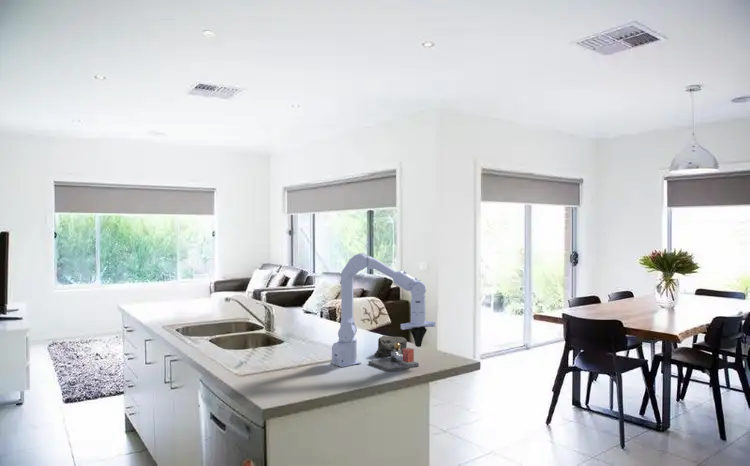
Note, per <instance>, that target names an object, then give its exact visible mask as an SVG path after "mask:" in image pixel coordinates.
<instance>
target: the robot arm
mask: <svg viewBox="0 0 750 466" xmlns="http://www.w3.org/2000/svg"><path fill="white" fill-rule="evenodd" d="M364 269H367V270H376V271H377V272H380V273H382V274H383V275H385V276H387V277H389V278H391V279H392V281H393V284H395V285H396V286H398V287H400V288H401V289H402V290H405V291H406V292H410V294H411V300H410V321H409V322H406V323H400V330H401V331H402V330H409V331H410V333H411V335H412V337H413V341H414V346H415V347H417V348H420V347H422V343H423V341H424V337H425V335H426V333H427V329H428V328H429V327H430V328H435V327H436V321H433V320H432V321H431V320H430V321H428V320H426V295H425V294H426V291H427V289H426V286H425V283H424V282H423V281H421V280H419V279H418V278H417V277H413V276H411V275H409V274H408V272H407V271H406V270H404V271H402V270H399V271H396V270H395V269H393V268H391V267H390V266H388V265H386V264H385V263H383V262H382V261H381V260H379V259H377V258H374V257H373V256H371V255H367V254H366V253H364V252H363V253H362V252H360V253H357V254H355V255H353V256H351V258H349V259H348V261H347V263H346V265H345V266H344V267H343V269H342V270H341V273H340V278H341V279H340V284H341V285H340V290H341V293H340V294H341V296H340V299H341V304H340V305H341V308H340V310H341V315H340V316H341V318H340V325H339V330H337V331H338V333H337V336H338V341H337V342H334V343H333V344H332V346H331V362H330V364H333V365H334V366H335V365H336V366H338V367H341V368H343V367H349V366H354V365H359V364H361V363H362V362H361V361H359V360H357V359H358V358H357V357H358V356H357V351H358V350H357V338H356V334H357V331H358V330H357V329H358V328H357V326H356V324H355V317H354V277H355V276H356V275H357V274H358V273H359V272H361V271H363V270H364Z"/></svg>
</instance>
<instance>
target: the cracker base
mask: <svg viewBox="0 0 750 466" xmlns="http://www.w3.org/2000/svg"><path fill="white" fill-rule="evenodd" d="M400 348H401V345H400V344H399V343H396V344H395V345H394V350H393V351H398V353H400V354H403V353H402V350H399V349H400ZM368 365H370V366H373V367H375V368H378V369H381V370H383V371H387V372H390V373H392V372H396V371H402V370H406V369H407V370H408V369H411V368H412V369H413V368H416V367H420V366H419V362H416V361H414V362H409V363H407V362H404V361H403V360H400V359H391V356H388V357H383V358H377V359H372V360H368Z"/></svg>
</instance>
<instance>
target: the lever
mask: <svg viewBox="0 0 750 466" xmlns="http://www.w3.org/2000/svg"><path fill="white" fill-rule="evenodd" d="M414 353H415V349H414V348H411V347H406V348H404V349H403V353H402V354H400V353H398V351H391V354H390V357H391V359H400V360H403V361H404V362H407V363H409V362H415V361H414V359H415V357H414V356H415V354H414Z"/></svg>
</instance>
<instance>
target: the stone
mask: <svg viewBox="0 0 750 466" xmlns="http://www.w3.org/2000/svg"><path fill="white" fill-rule="evenodd" d="M377 343H378V344H377V350H376V352H374V358H377V359H383V358H387V356H391V351H393V350H394V345H395V344H396V343H399V344H400V345H401V348H400V349H399V350H402V354H403V349H404V348H407V344H408V340H407V339H406V338H405V337H403V336H391V335H390V336H389V335H381V336H380V337H379V338H378V341H377Z"/></svg>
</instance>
